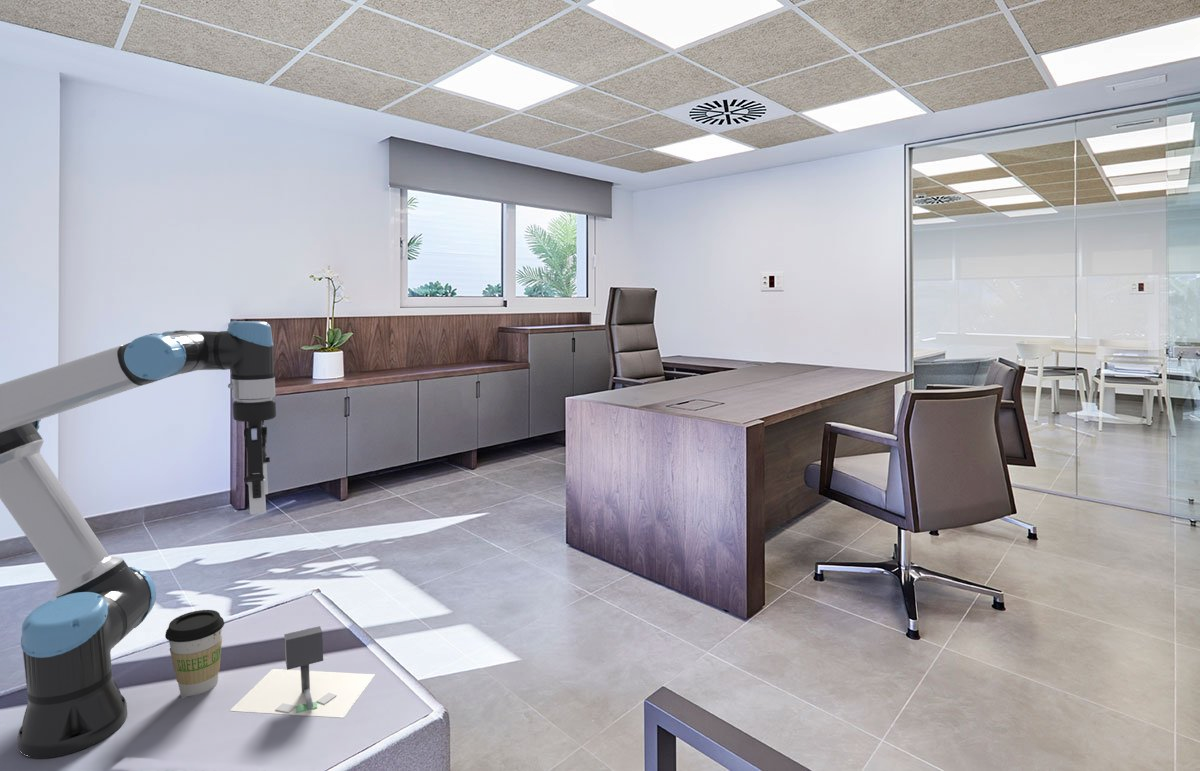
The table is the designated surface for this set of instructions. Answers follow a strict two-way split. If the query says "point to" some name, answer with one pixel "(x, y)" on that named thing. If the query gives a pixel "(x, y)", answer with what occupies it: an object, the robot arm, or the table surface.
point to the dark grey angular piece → (304, 655)
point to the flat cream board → (286, 697)
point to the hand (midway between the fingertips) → (259, 503)
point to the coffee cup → (196, 650)
